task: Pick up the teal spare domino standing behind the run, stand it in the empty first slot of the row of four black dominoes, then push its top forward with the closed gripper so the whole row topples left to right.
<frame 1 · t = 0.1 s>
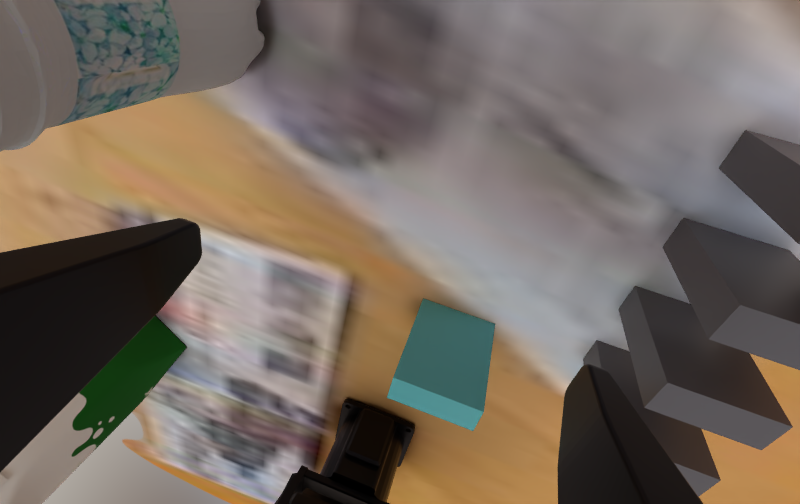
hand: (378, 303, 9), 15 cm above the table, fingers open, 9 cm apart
domino 4: (723, 248, 20), on the table
bottle: (224, 15, 22), on the table
milk carton: (143, 329, 39), on the table
domino 1: (454, 320, 28), on the table
domino 5: (790, 166, 18), on the table
domino 3: (671, 312, 23), on the table
domino 2: (629, 363, 26), on the table
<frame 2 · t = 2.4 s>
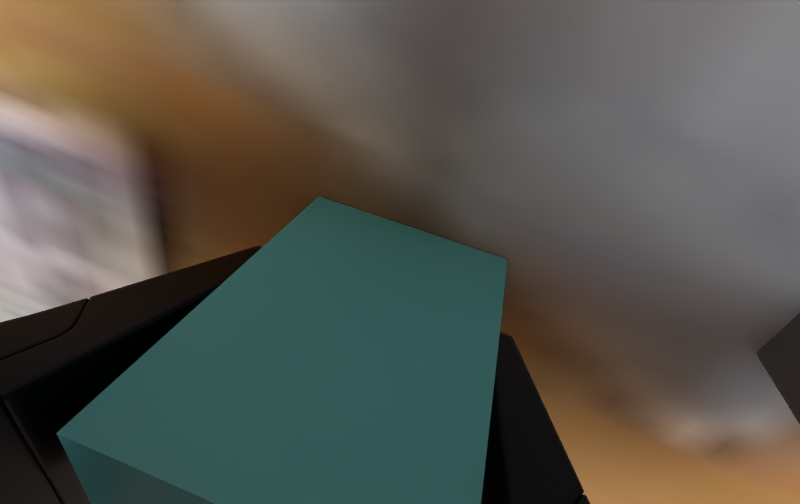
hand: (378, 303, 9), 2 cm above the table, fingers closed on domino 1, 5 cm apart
domino 1: (403, 255, 11), on the table, touching gripper
when the fingers open (3 cm above the table, at t = 6.3 s): domino 1 stays where it is, on the table.
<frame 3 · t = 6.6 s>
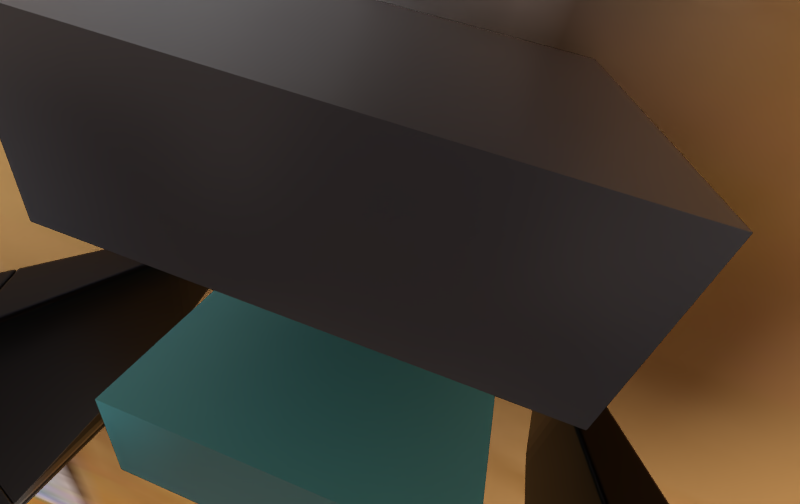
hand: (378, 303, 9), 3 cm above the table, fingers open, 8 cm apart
domino 1: (409, 243, 11), on the table
domino 2: (455, 72, 9), on the table
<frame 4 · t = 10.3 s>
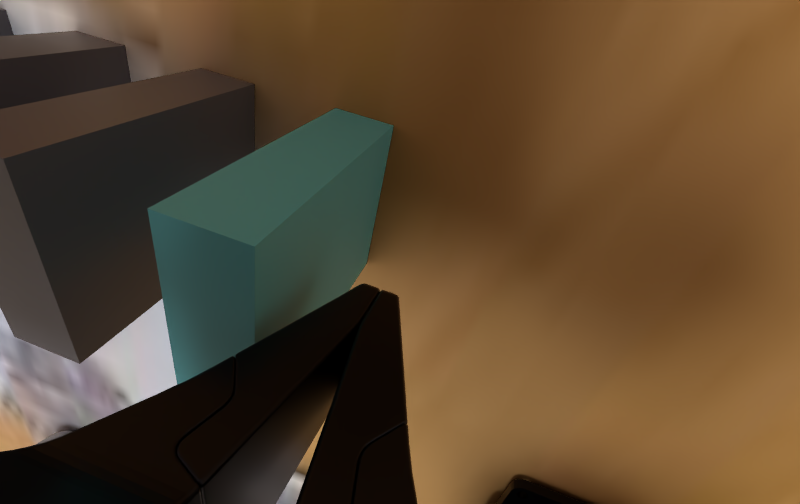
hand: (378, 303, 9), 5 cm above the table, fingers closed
domino 1: (352, 193, 13), on the table, touching gripper
domino 3: (115, 116, 14), on the table
domino 2: (230, 153, 14), on the table
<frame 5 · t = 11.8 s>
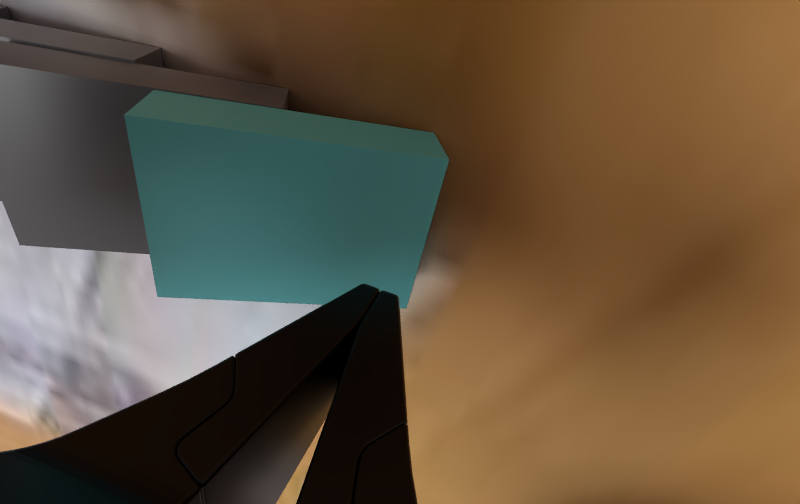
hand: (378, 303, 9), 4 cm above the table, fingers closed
domino 1: (419, 225, 12), point 1 cm above the table, tilted 65°, touching domino 2
domino 3: (160, 138, 13), point 1 cm above the table, tilted 70°, touching domino 2
domino 2: (282, 180, 13), point 1 cm above the table, tilted 65°, touching domino 1, domino 3
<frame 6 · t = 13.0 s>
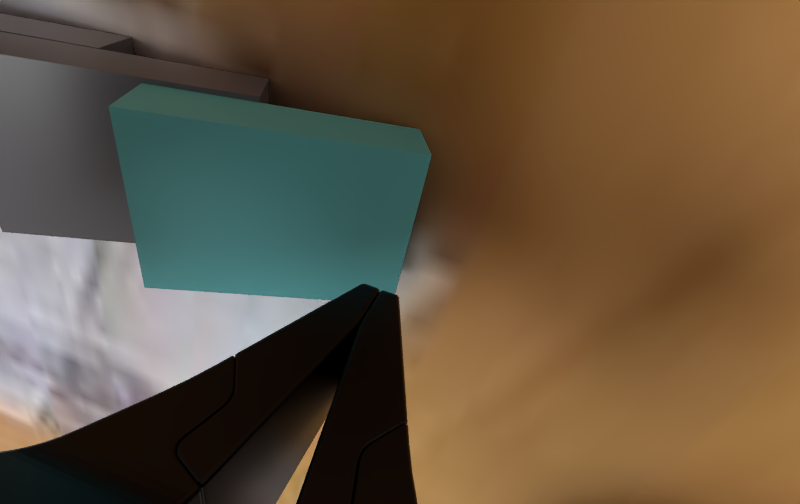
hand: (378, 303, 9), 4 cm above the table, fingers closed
domino 1: (405, 221, 12), point 1 cm above the table, tilted 67°, touching domino 2
domino 3: (132, 128, 13), point 1 cm above the table, tilted 71°, touching domino 2
domino 2: (263, 171, 13), point 1 cm above the table, tilted 67°, touching domino 1, domino 3
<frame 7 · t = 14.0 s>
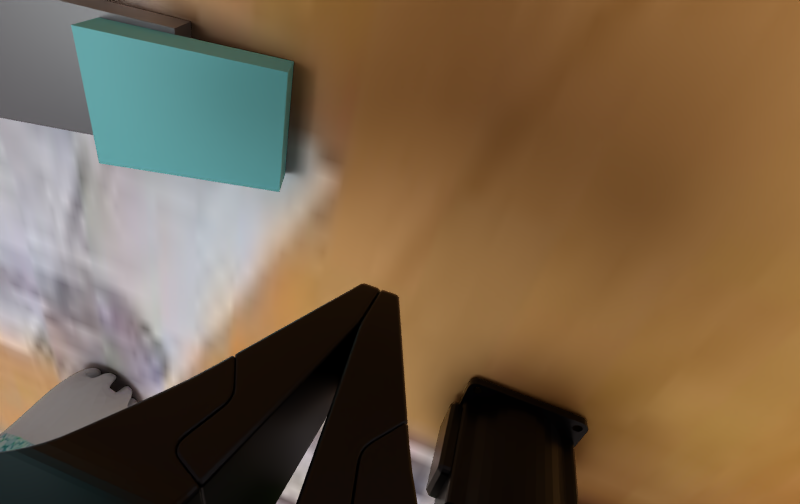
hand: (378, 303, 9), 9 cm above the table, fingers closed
bottle: (115, 386, 35), on the table
domino 1: (286, 129, 17), point 1 cm above the table, tilted 68°, touching domino 2
domino 2: (186, 89, 17), point 1 cm above the table, tilted 69°, touching domino 1, domino 3
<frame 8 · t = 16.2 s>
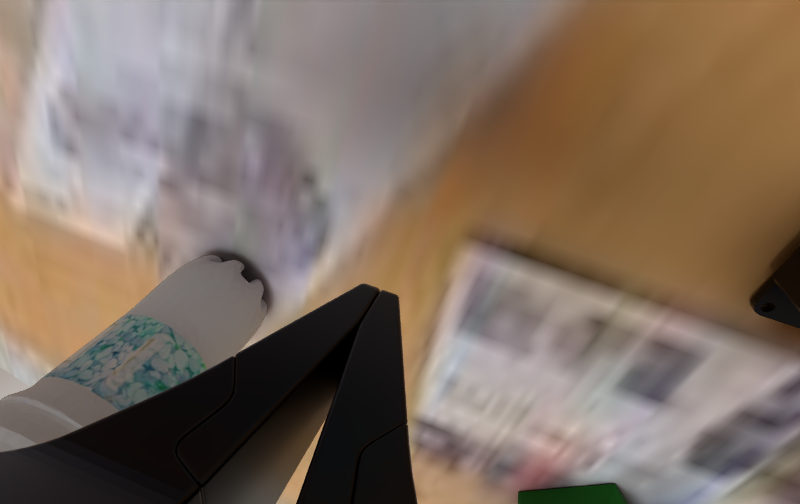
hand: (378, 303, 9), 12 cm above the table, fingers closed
bottle: (236, 284, 28), on the table
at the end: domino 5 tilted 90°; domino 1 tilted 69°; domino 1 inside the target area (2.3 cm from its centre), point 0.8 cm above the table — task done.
